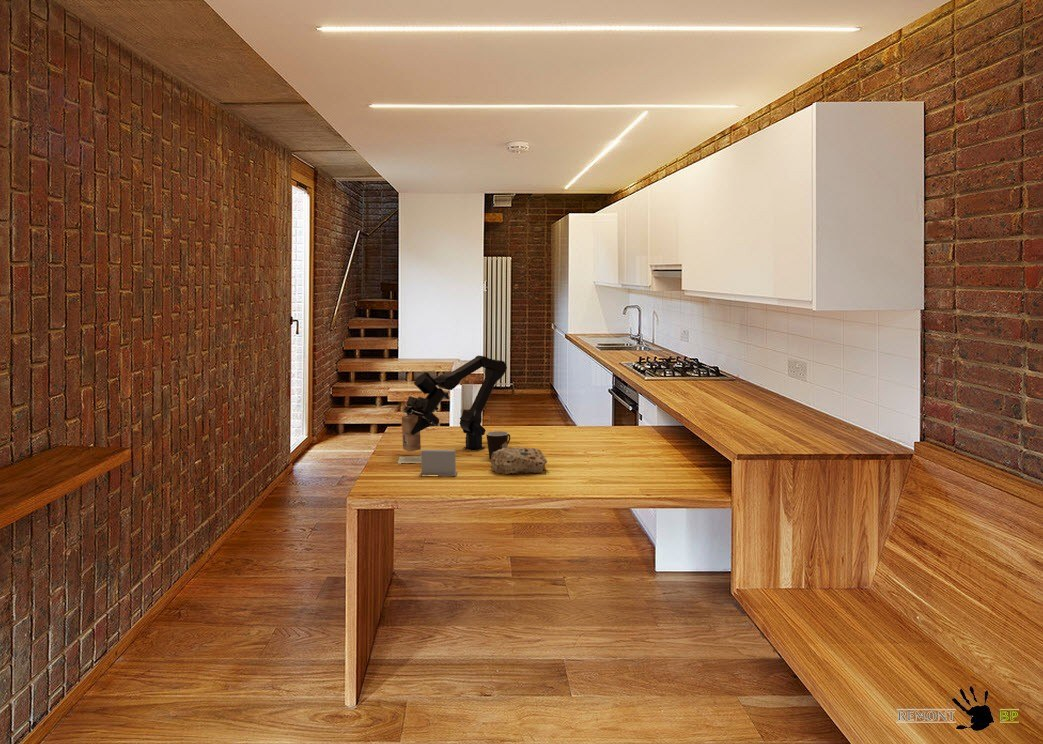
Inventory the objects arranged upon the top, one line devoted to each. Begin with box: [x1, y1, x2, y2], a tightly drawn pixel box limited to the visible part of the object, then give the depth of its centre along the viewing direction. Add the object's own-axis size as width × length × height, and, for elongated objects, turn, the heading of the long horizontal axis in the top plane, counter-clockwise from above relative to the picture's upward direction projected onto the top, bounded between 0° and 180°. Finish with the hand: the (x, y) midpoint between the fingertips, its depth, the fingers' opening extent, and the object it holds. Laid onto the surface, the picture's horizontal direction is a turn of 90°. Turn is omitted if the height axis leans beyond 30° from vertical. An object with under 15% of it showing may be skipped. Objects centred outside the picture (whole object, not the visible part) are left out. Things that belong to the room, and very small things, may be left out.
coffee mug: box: [485, 430, 511, 460], centre depth 294 cm, size 12×9×10 cm
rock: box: [490, 446, 548, 475], centre depth 276 cm, size 21×14×10 cm
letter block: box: [401, 414, 422, 452], centre depth 291 cm, size 5×5×13 cm
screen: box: [419, 449, 458, 477], centre depth 271 cm, size 13×4×9 cm, turn 86°
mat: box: [397, 455, 421, 465], centre depth 292 cm, size 10×10×1 cm
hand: (408, 433), depth 290 cm, fingers closed on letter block, 5 cm apart
